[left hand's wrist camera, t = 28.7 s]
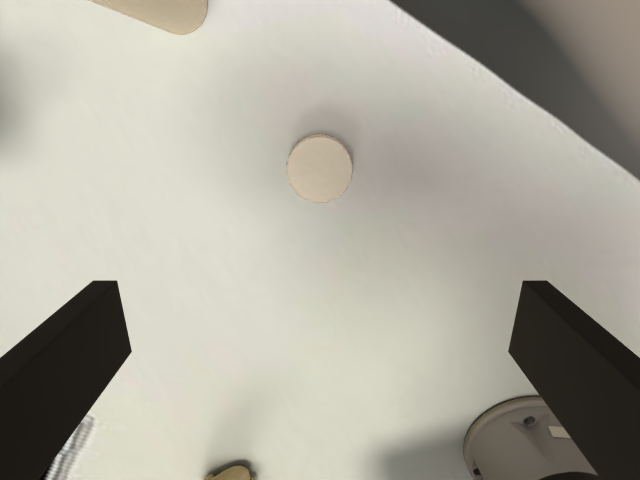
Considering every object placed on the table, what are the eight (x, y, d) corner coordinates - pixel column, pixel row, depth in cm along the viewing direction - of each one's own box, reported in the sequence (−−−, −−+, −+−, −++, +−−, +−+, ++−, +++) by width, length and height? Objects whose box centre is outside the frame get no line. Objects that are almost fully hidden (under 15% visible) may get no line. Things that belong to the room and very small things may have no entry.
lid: (276, 152, 37) (273, 156, 35) (333, 121, 36) (334, 123, 34) (306, 207, 39) (305, 214, 36) (361, 179, 38) (364, 185, 35)
